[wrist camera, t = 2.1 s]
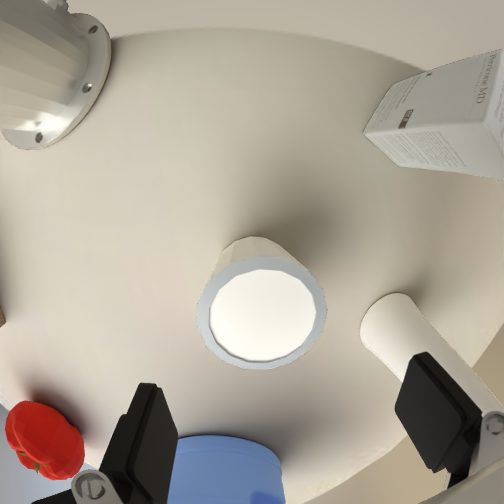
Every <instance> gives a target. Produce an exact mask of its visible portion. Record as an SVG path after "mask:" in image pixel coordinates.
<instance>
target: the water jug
mask: <svg viewBox="0 0 504 504" xmlns="http://www.w3.org/2000/svg"><path fill="white" fill-rule="evenodd" d="M281 477H282V471H281V465H280V461H279V459H278V457H277V456H276V455H275V454H274V453H273V452H272V451H271V450H270V449H268V448H267V447H265V446H263V445H261V444H258V443H256V442H253V441H249V440H246V439H241V438H236V437H229V436H216V435H205V436H193V437H186V438H182V439H178V444H177V449H176V454H175V460H174V465H173V471H172V476H171V482H170V488H169V494H168V500H167V504H285V496H284V490H283V484H282V478H281Z"/></svg>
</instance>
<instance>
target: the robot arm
mask: <svg viewBox="0 0 504 504" xmlns="http://www.w3.org/2000/svg"><path fill="white" fill-rule="evenodd" d="M67 10H68V4H67V3H66V0H49V1H48V4H47V3H45V2H44V1H43V0H0V130H1V133H2V134H3V136H4V138H5V139H6V140H7V141H8V142H9V143H10V144H11V145H12V146H14V147H16V148H18V149H26V150H36V149H41V148H45V147H48V146H50V145H52V144H54V143H56V142H57V141H59V140H60V139H62V138H63V137H64V136H66V135H67V134H68V133H70V131H71V130H72V129H73V128H74V127H75V126H76V125H77V124H78V123H79V122H80V121H81V120H82V119H83V117H84V116H85V115H86V114H87V112H88V111H89V110H90V108H91V106H92V105H93V103H94V102H95V100H96V98H97V97H98V95H99V93H100V91H101V89H102V86H103V84H104V82H105V79H106V76H107V73H108V70H109V66H110V60H111V41H110V37H109V33H108V32H107V30H106V29H105V27H104V25H102V24H101V23H100V22H99V21H98V19H96V18H94V17H92V16H91V15H88V14H83V13H78V14H77V13H75V14H70V13H69V12H68V11H67ZM395 412H396V414H397V416H398V418H399V419H400V421H401V423H402V425H403V426H404V428H405V430H406V431H407V433H408V435H409V437H410V438H411V440H412V442H413V443H414V445H415V447H416V449H417V450H418V452H419V454H420V456H421V458H422V459H423V461H424V463H425V465H426V466H427V468H428V469H432V471H433V473H436V472H438V471H440V470H442V469H444V468H446V469H447V471H448V472H447V476H446V479H445V483H444V486H443V490H442V492H441V493H439V494H437V495H435V496H433V497H431V498H430V499H427V500H425V501H423V502H421V503H419V504H504V413H502V412H500V411H491V412H488V413H487V414H486V415H485V416H484V417H482V415H481V414H482V413H483V412H482V411H481V410H480V408H479V407H478V406H477V405H476V404H475V403H474V401H473V400H472V399H471V398H470V397H469V396H468V395H467V393H466V392H465V391H464V390H463V389H462V388H461V387H460V386H459V385H458V383H457V382H456V381H455V380H454V379H453V378H452V377H451V376H450V375H449V374H448V373H447V371H446V370H445V369H444V368H443V367H442V366H441V365H440V364H439V363H438V362H437V361H436V360H435V359H434V358H433V357H432V355H431V354H430V353H428V352H426V351H425V352H422V353H418V354H415V355H413V356H412V359H410V360H409V363H408V366H407V370H406V373H405V377H404V380H403V383H402V386H401V389H400V392H399V395H398V398H397V401H396V404H395ZM177 444H178V432H177V429H176V427H175V424H174V421H173V419H172V416H171V413H170V411H169V408H168V405H167V402H166V399H165V397H164V394H163V391H162V389H161V388H158V387H157V385H156V384H153V383H140V384H139V385H138V388H137V390H136V392H135V395H134V397H133V399H132V402H131V404H130V407H129V409H128V412H127V414H123V415H122V416H121V417H120V419H119V421H118V423H117V425H116V428H115V430H114V433H113V435H112V438H111V440H110V443H109V445H108V448H107V450H106V453H105V455H104V458H103V460H102V463H101V465H100V468H99V471H97V470H90V469H89V470H84V471H82V472H79V473H78V474H77V475H76V476H75V477H74V478H73V480H72V483H71V489H69V490H67V491H64V492H61V493H58V494H55V495H52V496H49V497H46V498H43V499H40V500H37V501H35V502H33V503H32V504H167V500H168V494H169V488H170V482H171V476H172V471H173V465H174V460H175V454H176V449H177Z"/></svg>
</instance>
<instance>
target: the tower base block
mask: <svg viewBox="0 0 504 504" xmlns="http://www.w3.org/2000/svg"><path fill="white" fill-rule="evenodd" d="M5 323H6V321H5V318H4V316H3V313H2V310H1V308H0V327H1V326H3V325H4V324H5Z"/></svg>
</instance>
